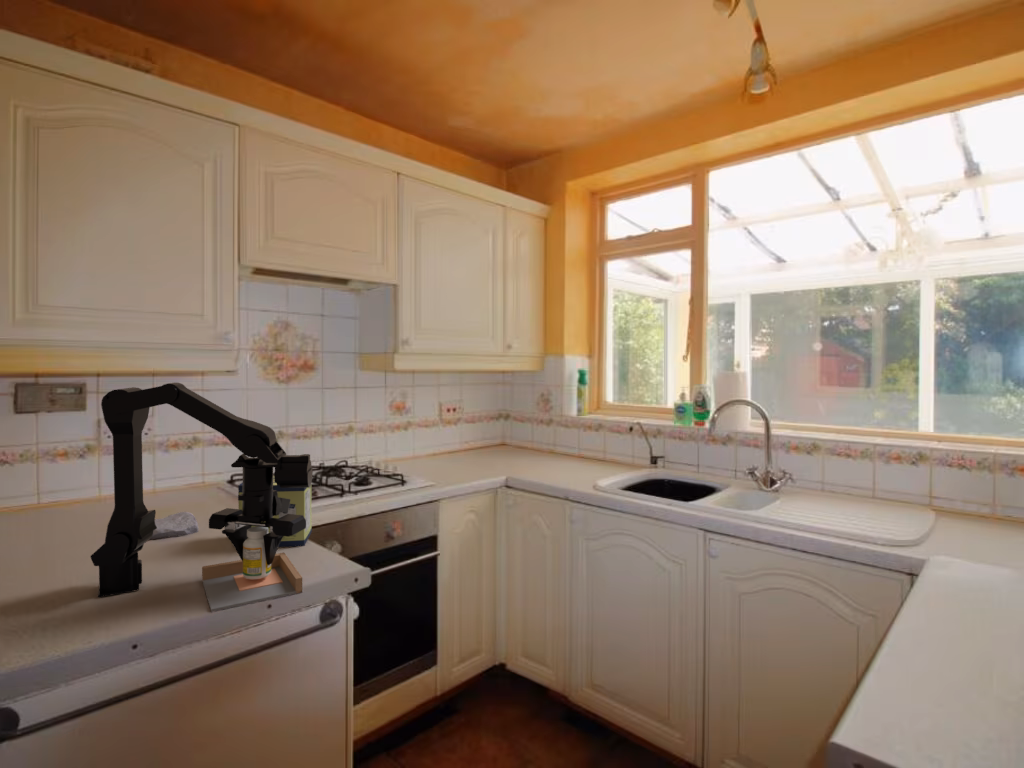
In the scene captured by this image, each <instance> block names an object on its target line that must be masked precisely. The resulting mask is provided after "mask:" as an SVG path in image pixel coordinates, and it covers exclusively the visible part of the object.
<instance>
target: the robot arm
mask: <svg viewBox="0 0 1024 768" xmlns="http://www.w3.org/2000/svg"><path fill="white" fill-rule="evenodd" d="M166 404H167V405H169V406H172V407H174V408H175V409H177V410H179V411H180V412H181V413H184V414H186V415H188V416H189V417H191V418H193V419H195V420H197V422H198V421H199V422H200V423H202V424H204V425H206V426H208V427H209V428H211V429H212V430H214V431H216V432H218V433H219V434H222V436H224V437H225V438H226V439H227V440H228V441H229V443H231V445H232V446H233V447H235V448H236V449H237V450H238V451H239V452H241V453H242V454H240V455H239V456H238V458H237V459H236V460H235V461H234V462H233V463H231V464H230V466H231V468H242V482H243V489H242V494H240V495H237V500H241V501H242V510H241V509H239V508H229V507H226V508H224V509H221V510H219V511H215V512H214V513H211V515H210V517H209V518H208V529H211V530H212V529H213V530H221V533H222V534H224V535H225V536H226V537H227V539H228V540H229V542H230V544H232V546H233V548H234V550H235V552H237V554H238V556H239V558H240V560H242V561H243V543H244V541H245V540H246V539H247V538H248V537H247V529H249V528H251V526H260V527H270V533H268V534H266V535H264V536H263V538H264V547H265V555H266V561H267V565H270V564H272V562H273V559H274V557H275V554H277V552H278V549H279V547H278V546H279V544H280V542H281V540H282V538H283V536H292V535H294V534H296V533H298V532H300V531H301V530H303V529H305V528H306V519H305V517H304V516H303V515H295V514H288V510H289V505H290V500H291V499H286V498H280V497H278V492H277V490H273V476H274V479H275V483H277V485H280V487H281V488H309V487H310V486H311V487H312V482H313V473H314V472H313V467H312V461H311V454H309V453H305V454H304V453H302V454H298V455H297V454H287V453H286V451H285V450H284V449H283V447H282V446H281V445H280V443H279V442H278V441H277V436H276V432H275V431H274V429H272V428H271V427H270V426H268V425H266V424H262V423H260V422H258V421H253V420H249V419H246V418H242V417H239V416H237V415H235V414H234V413H232V412H230V411H229V410H226V409H224V408H223V407H221V406H219V405H218V404H216V403H214V402H212V401H210V400H208V399H207V398H205V397H203V396H202V395H199V394H198V393H197V392H195V391H192V390H191V389H190V388H188V387H187V386H185V385H184V384H183V383H180V382H170V383H164V384H162V385H160V386H154V387H150V388H143V389H142V388H139V387H135V386H133V387H125V388H119V389H112V390H110V391H108V392H107V393H106V394H105V395H104V396H103V397H102V399H101V403H100V406H101V412H102V415H103V420H104V423H105V424H106V427H107V429H109V432H110V433H111V434H112V435H111V436H112V452H113V453H112V455H113V458H112V459H113V461H112V463H113V488H114V489H113V491H114V493H113V496H114V508H113V512H112V513H111V516H110V518H109V521H108V523H107V526H106V527H107V528H106V533H105V539H104V543H103V544H102V545H101V546H100V547H99V548H98V549H97V550H96V551H95V552H93V553H92V554H91V555H90V559H91V561H92V564H93V566H94V567H98V593H97V597H98V598H102V597H108V596H113V595H119V594H124V593H130V592H136V591H139V590H140V585H141V584H142V583H143V560H142V559H139V552H140V551H141V550H143V547H144V546H145V545H144V544H146V543H147V542H148V541H150V540H151V539H150V538H151V537H152V535H153V531H154V530H155V529H157V527H156V525H155V519H156V515H157V514H156V509H150V510H148V509H147V507H146V505H145V503H144V485H143V484H144V483H143V481H144V480H143V479H144V477H143V475H144V474H143V442H142V441H143V440H142V437H143V436H142V435H143V431H144V428H145V425H146V423H147V420H148V418H149V413H150V408H152V407H156V406H162V405H166ZM280 512H282V513H284V514H287V515H285V516H283V517H281V518H273V516H277V515H279V514H280ZM222 529H223V530H222Z"/></svg>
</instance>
